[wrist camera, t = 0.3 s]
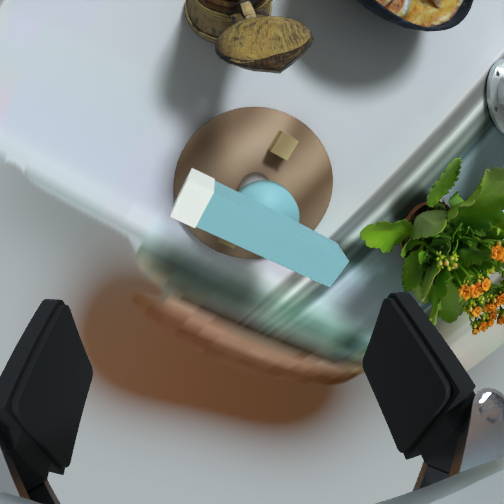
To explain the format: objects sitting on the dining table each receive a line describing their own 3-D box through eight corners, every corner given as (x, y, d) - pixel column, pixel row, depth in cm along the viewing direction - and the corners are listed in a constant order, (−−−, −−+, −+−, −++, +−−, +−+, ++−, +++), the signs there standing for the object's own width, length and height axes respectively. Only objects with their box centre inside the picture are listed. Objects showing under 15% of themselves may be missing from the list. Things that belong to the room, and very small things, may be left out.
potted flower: (318, 278, 44) (361, 375, 29) (387, 112, 34) (487, 143, 18) (439, 303, 49) (492, 373, 34) (502, 182, 39) (579, 230, 24)
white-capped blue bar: (336, 215, 30) (361, 246, 25) (303, 264, 33) (319, 301, 27) (202, 144, 26) (197, 160, 21) (172, 203, 28) (161, 234, 23)
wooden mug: (210, 92, 31) (199, 95, 16) (176, -14, 25) (139, -89, 9) (290, 71, 31) (355, 59, 15) (256, -34, 24) (287, -118, 9)
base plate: (356, 157, 36) (387, 176, 29) (279, 274, 43) (290, 312, 36) (222, 78, 31) (222, 75, 24) (151, 217, 38) (136, 248, 31)
